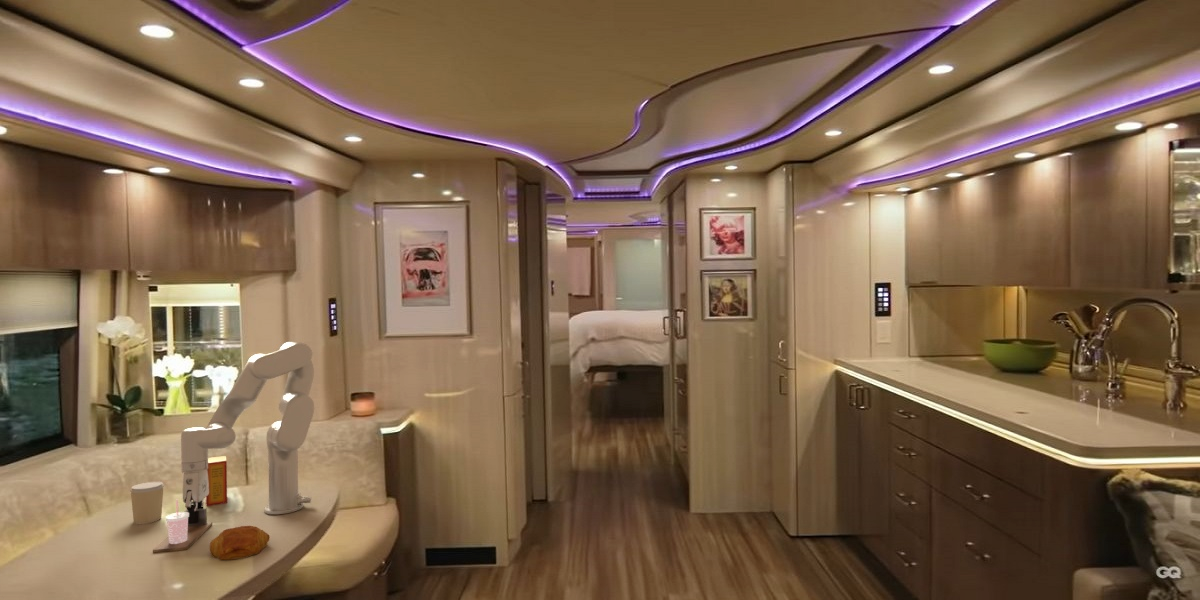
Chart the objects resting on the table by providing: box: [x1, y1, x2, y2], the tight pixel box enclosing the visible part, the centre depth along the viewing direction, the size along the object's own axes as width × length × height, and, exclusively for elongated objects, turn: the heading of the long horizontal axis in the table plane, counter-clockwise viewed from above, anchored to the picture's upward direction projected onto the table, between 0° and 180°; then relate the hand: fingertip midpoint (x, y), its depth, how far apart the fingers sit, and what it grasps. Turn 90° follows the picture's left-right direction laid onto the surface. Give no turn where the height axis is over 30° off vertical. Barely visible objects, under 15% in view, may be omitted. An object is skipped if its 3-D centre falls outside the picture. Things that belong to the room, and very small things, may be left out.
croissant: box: [209, 525, 270, 561], centre depth 193 cm, size 14×16×8 cm
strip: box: [152, 507, 213, 553], centre depth 204 cm, size 9×22×6 cm, turn 14°
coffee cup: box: [130, 481, 165, 525], centre depth 221 cm, size 9×9×12 cm
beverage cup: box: [165, 498, 189, 544], centre depth 199 cm, size 6×6×14 cm
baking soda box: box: [205, 455, 228, 507], centre depth 241 cm, size 10×6×16 cm
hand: (195, 520), depth 213 cm, fingers open, 3 cm apart
